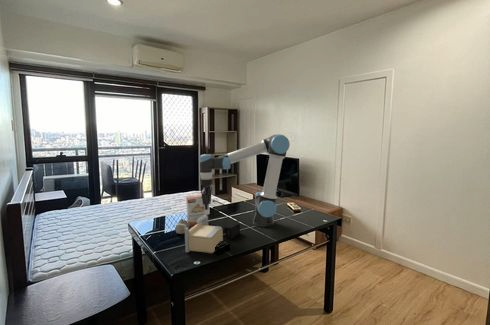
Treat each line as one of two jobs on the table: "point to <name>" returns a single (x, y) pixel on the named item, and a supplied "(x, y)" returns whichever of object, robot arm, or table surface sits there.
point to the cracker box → (194, 208)
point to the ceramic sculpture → (182, 226)
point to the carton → (202, 241)
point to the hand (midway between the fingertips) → (207, 213)
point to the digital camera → (232, 230)
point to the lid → (203, 231)
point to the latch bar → (201, 218)
